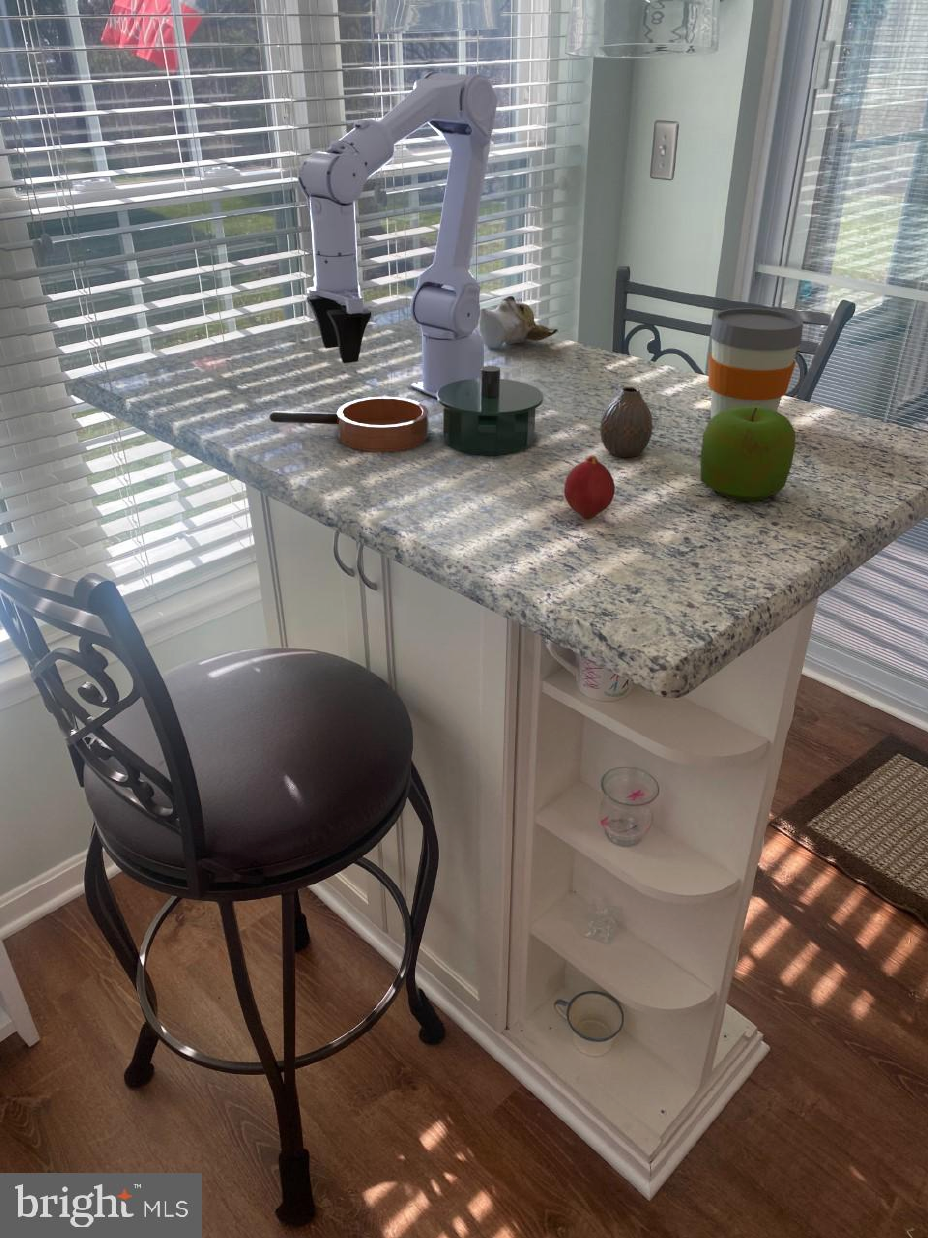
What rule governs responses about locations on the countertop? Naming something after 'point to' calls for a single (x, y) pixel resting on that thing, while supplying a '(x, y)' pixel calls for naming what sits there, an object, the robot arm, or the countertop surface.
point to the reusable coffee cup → (752, 357)
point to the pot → (488, 432)
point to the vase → (626, 424)
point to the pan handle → (304, 417)
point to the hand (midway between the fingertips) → (340, 354)
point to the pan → (383, 424)
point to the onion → (589, 488)
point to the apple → (747, 452)
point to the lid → (490, 395)
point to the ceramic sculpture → (510, 324)
